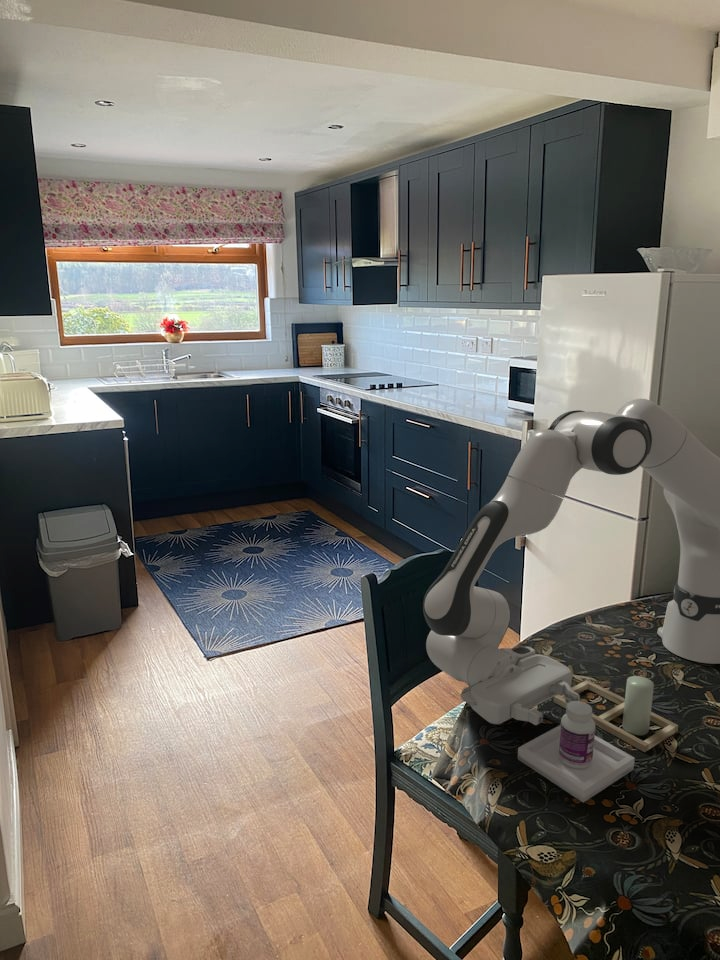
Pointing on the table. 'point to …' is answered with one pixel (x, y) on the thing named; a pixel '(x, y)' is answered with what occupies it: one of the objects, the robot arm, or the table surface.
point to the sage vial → (638, 705)
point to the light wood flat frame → (604, 719)
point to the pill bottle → (577, 735)
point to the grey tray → (576, 782)
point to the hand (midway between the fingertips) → (559, 710)
